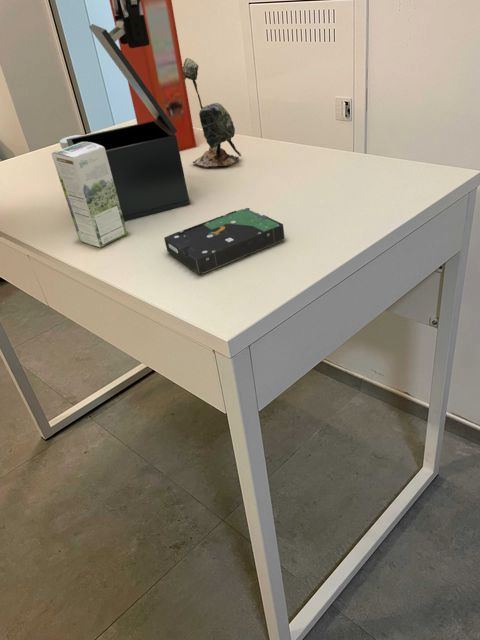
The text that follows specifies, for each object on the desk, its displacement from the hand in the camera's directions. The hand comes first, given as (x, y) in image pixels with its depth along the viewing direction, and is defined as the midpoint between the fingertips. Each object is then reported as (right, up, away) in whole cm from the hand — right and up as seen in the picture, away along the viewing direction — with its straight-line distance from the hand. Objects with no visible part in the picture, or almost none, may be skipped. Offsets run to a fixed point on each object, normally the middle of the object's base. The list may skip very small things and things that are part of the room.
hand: (134, 43), depth 87 cm
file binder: (-2, +1, +44) cm, 44 cm away
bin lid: (-1, -5, +3) cm, 5 cm away
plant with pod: (+11, -10, +27) cm, 31 cm away
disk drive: (+15, -33, -5) cm, 37 cm away
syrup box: (-5, -31, +2) cm, 31 cm away
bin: (-3, -22, +13) cm, 26 cm away
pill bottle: (-15, -16, +23) cm, 32 cm away
